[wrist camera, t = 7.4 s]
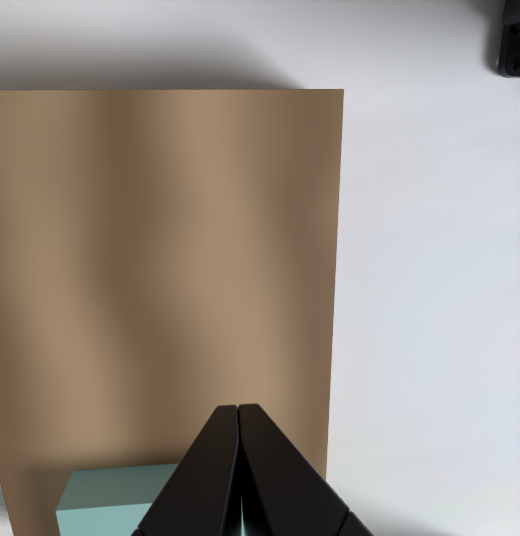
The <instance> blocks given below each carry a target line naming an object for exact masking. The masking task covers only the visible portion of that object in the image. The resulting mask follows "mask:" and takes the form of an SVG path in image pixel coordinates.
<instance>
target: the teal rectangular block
mask: <svg viewBox="0 0 520 536" xmlns="http://www.w3.org/2000/svg"><path fill="white" fill-rule="evenodd" d="M178 464H179V463H176V464H163V465H149V466H136V467H122V468H108V469H95V470H81V471H73V472H72V474H71V476H70V479H69V481H68V483H67V486H66V488H65V490H64V493H63V495H62V497H61V499H60V502H59V504H58V506H57V509H56V516H57V520H58V525H59V530H60V535H61V536H131V534H132V533H133V531H134V530H135V529H137V526H138V524H139V523H140V521H141V520H142V518H143V517H144V515H145V514H146V512H147V511H148V509H149V508H150V506H151V505H152V503H153V502H154V500H155V499H156V497H157V496H158V494H159V493H160V491H161V490H162V488H163V487H164V485H165V484H166V482H167V481H168V479H169V478H170V476H171V475H172V473H173V472H174V470H175V469H176V467H177V466H178ZM241 501H242V499H241ZM241 536H245V534H244V526H243V516H242V535H241Z"/></svg>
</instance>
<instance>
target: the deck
mask: <svg viewBox="0 0 520 536" xmlns="http://www.w3.org/2000/svg"><path fill="white" fill-rule="evenodd" d="M343 97H344V89H230V90H0V482H1V486H2V491H3V495H4V499H5V503H6V507H7V511H8V515H9V519H10V523H11V527H12V531H13V535H14V536H61V535H60V530H59V525H58V520H57V516H56V509H57V506H58V504H59V502H60V499H61V497H62V495H63V493H64V490H65V488H66V486H67V483H68V481H69V479H70V476H71V474H72V472H73V471H81V470H95V469H108V468H122V467H136V466H149V465H163V464H176V463H180V461H181V459H182V458H183V456H184V455H185V453H186V452H187V450H188V449H189V447H190V446H191V444H192V443H193V441H194V440H195V438H196V437H197V435H198V434H199V432H200V431H201V429H202V428H203V426H204V425H205V423H206V422H207V420H208V419H209V417H210V416H211V414H212V413H213V411H214V410H215V408H216V407H217V406H219V405H236V406H237V407H238V406H239V405H240V404H250V403H257V404H259V405H260V406H261V407H262V408H263V410H264V411H265V412H266V413H267V414H268V415H269V416H270V418H271V419H272V420H273V421H274V422H275V423H276V425H277V426H278V427H279V428H280V429H281V430H282V431H283V433H284V434H285V435H286V436H287V437H288V438H289V439H290V441H291V442H292V443H293V444H294V445H295V446H296V447H297V449H298V450H299V451H300V452H301V453H302V454H303V456H304V457H305V458H306V459H307V460H308V461H309V462H310V464H311V465H312V466H313V467H314V468H315V469H316V470H317V472H318V473H319V474H320V475H321V476H322V477H323V478H324V480H325V481H326V466H327V444H328V423H329V401H330V379H331V358H332V336H333V314H334V293H335V271H336V249H337V227H338V206H339V184H340V162H341V141H342V119H343Z"/></svg>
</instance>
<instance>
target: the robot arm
mask: <svg viewBox="0 0 520 536" xmlns="http://www.w3.org/2000/svg"><path fill="white" fill-rule="evenodd" d="M503 20H504V30H503V37H502V43H501V50H500V57H499V64H498V70H499V73H500V74H501V75H502V76H503V77H506V78H520V0H506V1H505V8H504V14H503ZM512 59H513V60H514V61H515V67H514V69H513V70H512V69H511V68H510V62H511V60H512ZM241 499H242V501H241ZM242 516H243V526H244V534H245V536H374V535H373V534H372V533H371V532H370V531H369V530H368V529H367V528H366V527H365V525H364V524H363V523H362V522H361V521H360V520H359V519H358V517H357V516H356V515H355V514H354V513H353V512H352V511H350V509H349V507H348V506H347V505H346V504H345V503H344V501H343V500H342V499H341V498H340V497H339V496H338V495H337V493H336V492H335V491H334V490H333V489H332V488H331V487H330V485H329V484H328V483H327V482H326V481H325V480H324V478H323V477H322V476H321V475H320V474H319V473H318V472H317V470H316V469H315V468H314V467H313V466H312V465H311V464H310V462H309V461H308V460H307V459H306V458H305V457H304V456H303V454H302V453H301V452H300V451H299V450H298V449H297V447H296V446H295V445H294V444H293V443H292V442H291V441H290V439H289V438H288V437H287V436H286V435H285V434H284V433H283V431H282V430H281V429H280V428H279V427H278V426H277V425H276V423H275V422H274V421H273V420H272V419H271V418H270V416H269V415H268V414H267V413H266V412H265V411H264V410H263V408H262V407H261V406H260V405H259V404H257V403H250V404H240V405H239V406H238V407H237V406H236V405H219V406H217V407H216V408H215V410H214V411H213V413H212V414H211V416H210V417H209V419H208V420H207V422H206V423H205V425H204V426H203V428H202V429H201V431H200V432H199V434H198V435H197V437H196V438H195V440H194V441H193V443H192V444H191V446H190V447H189V449H188V450H187V452H186V453H185V455H184V456H183V458H182V459H181V461H180V463H179V464H178V466H177V467H176V469H175V470H174V472H173V473H172V475H171V476H170V478H169V479H168V481H167V482H166V484H165V485H164V487H163V488H162V490H161V491H160V493H159V494H158V496H157V497H156V499H155V500H154V502H153V503H152V505H151V506H150V508H149V509H148V511H147V512H146V514H145V515H144V517H143V518H142V520H141V521H140V523H139V524H138V526H137V529H135V530H134V531H133V533H132V534H131V536H241V535H242Z"/></svg>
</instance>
